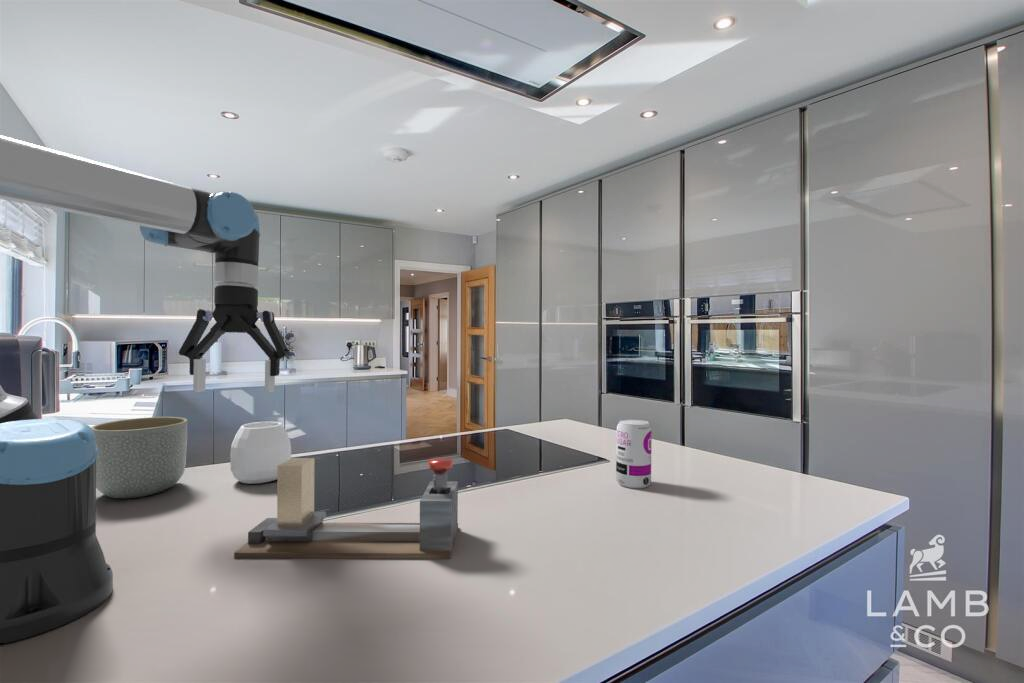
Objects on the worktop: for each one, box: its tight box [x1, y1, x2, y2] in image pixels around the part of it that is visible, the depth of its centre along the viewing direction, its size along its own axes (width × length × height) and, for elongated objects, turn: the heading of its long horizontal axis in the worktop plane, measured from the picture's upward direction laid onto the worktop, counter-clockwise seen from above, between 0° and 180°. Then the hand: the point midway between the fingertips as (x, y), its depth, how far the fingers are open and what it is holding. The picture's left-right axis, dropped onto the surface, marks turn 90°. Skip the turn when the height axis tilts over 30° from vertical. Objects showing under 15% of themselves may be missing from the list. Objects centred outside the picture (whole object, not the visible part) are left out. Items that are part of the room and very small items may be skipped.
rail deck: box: [233, 480, 459, 560], centre depth 79 cm, size 12×34×9 cm, turn 91°
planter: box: [90, 416, 189, 499], centre depth 103 cm, size 17×17×15 cm
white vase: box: [229, 420, 292, 485], centre depth 113 cm, size 13×13×14 cm
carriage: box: [263, 457, 327, 542], centre depth 79 cm, size 8×7×12 cm
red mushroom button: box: [427, 456, 453, 494], centre depth 79 cm, size 4×4×7 cm
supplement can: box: [615, 418, 653, 490], centre depth 111 cm, size 8×8×15 cm
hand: (234, 392), depth 93 cm, fingers open, 13 cm apart
